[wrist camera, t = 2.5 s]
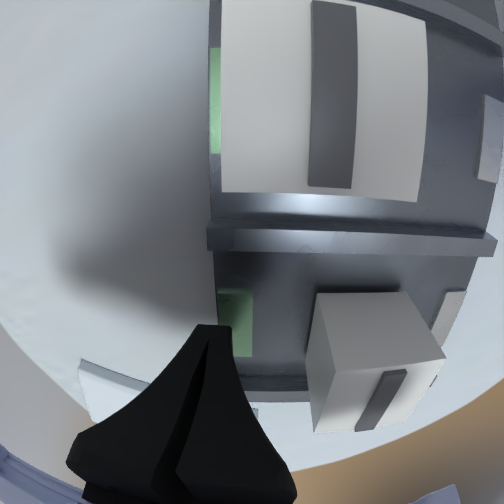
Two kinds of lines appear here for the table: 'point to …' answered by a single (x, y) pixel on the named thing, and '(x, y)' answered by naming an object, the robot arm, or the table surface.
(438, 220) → the panel
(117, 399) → the external hard drive
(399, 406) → the breaker
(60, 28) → the table surface
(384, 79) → the block
